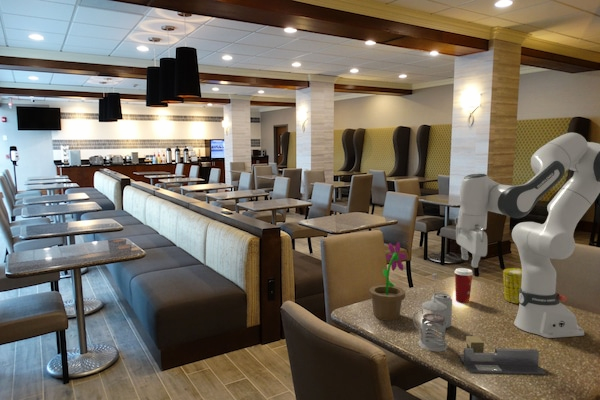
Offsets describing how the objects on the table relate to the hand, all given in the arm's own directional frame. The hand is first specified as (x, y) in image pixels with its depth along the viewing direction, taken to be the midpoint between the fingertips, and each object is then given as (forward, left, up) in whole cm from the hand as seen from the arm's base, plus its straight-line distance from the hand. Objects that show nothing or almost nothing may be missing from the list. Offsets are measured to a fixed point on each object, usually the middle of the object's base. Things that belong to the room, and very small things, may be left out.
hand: (469, 263), depth 139 cm
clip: (-1, +6, -28) cm, 29 cm away
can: (+4, -15, -29) cm, 32 cm away
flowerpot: (+23, -24, -29) cm, 44 cm away
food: (-36, -43, -29) cm, 62 cm away
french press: (+12, +1, -29) cm, 31 cm away
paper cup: (-13, -42, -29) cm, 52 cm away
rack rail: (-6, +14, -28) cm, 32 cm away
